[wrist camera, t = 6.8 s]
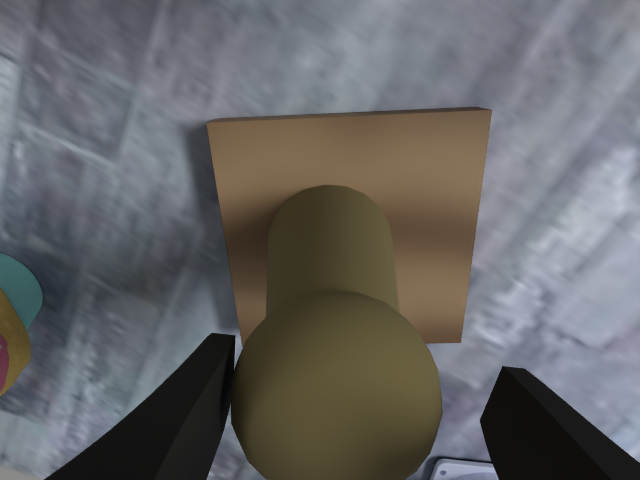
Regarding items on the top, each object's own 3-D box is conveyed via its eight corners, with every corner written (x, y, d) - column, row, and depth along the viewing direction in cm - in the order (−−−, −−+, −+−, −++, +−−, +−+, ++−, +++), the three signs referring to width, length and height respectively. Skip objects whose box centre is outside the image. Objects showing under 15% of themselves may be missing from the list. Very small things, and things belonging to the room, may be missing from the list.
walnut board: (447, 315, 22) (460, 342, 20) (250, 320, 23) (242, 347, 21) (470, 105, 18) (492, 109, 15) (221, 116, 18) (206, 122, 16)
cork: (246, 263, 18) (148, 485, 8) (307, 158, 16) (281, 282, 6) (348, 317, 20) (374, 570, 9) (418, 226, 17) (547, 422, 7)
